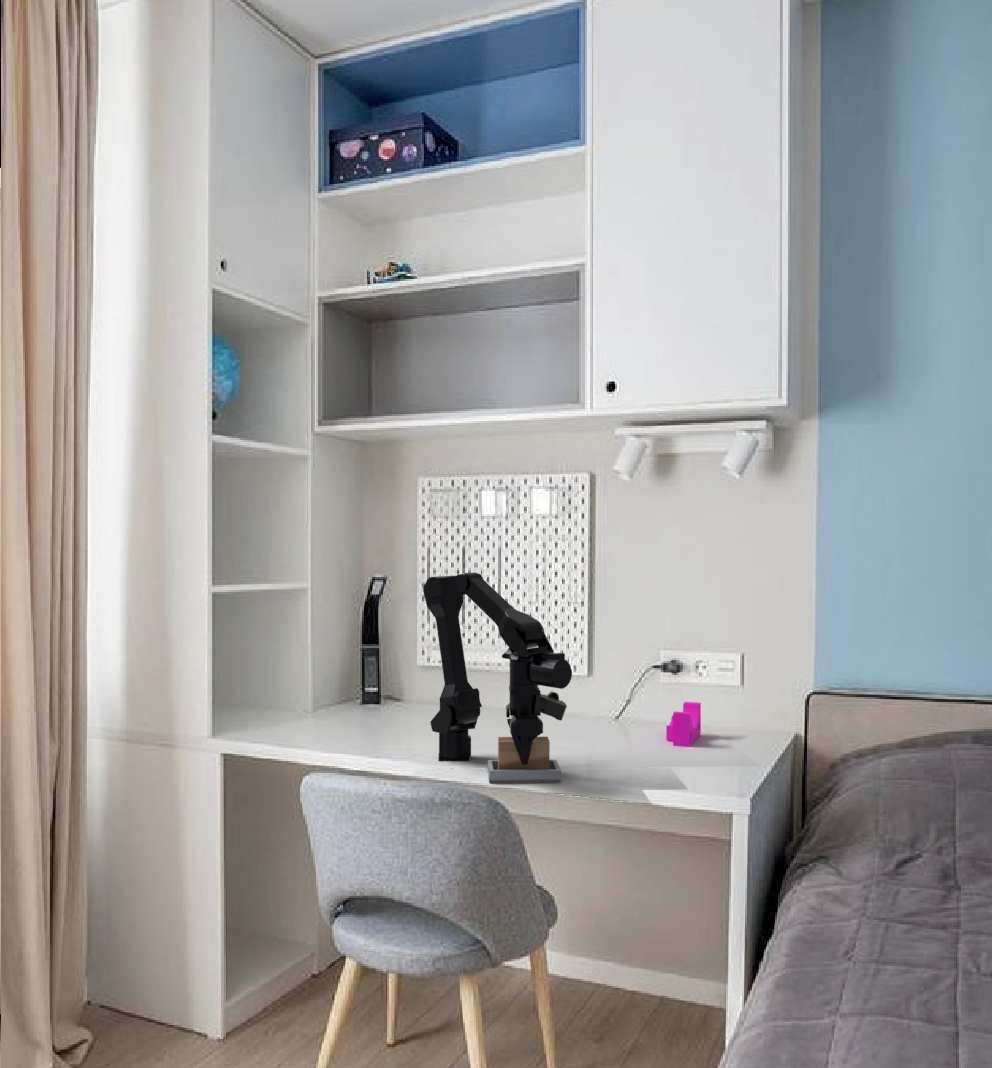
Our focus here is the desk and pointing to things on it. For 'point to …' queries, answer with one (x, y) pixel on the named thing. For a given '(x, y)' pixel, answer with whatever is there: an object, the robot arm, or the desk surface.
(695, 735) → the toy block
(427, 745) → the desk surface
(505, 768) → the walnut block
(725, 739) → the desk surface
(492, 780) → the slot tray
